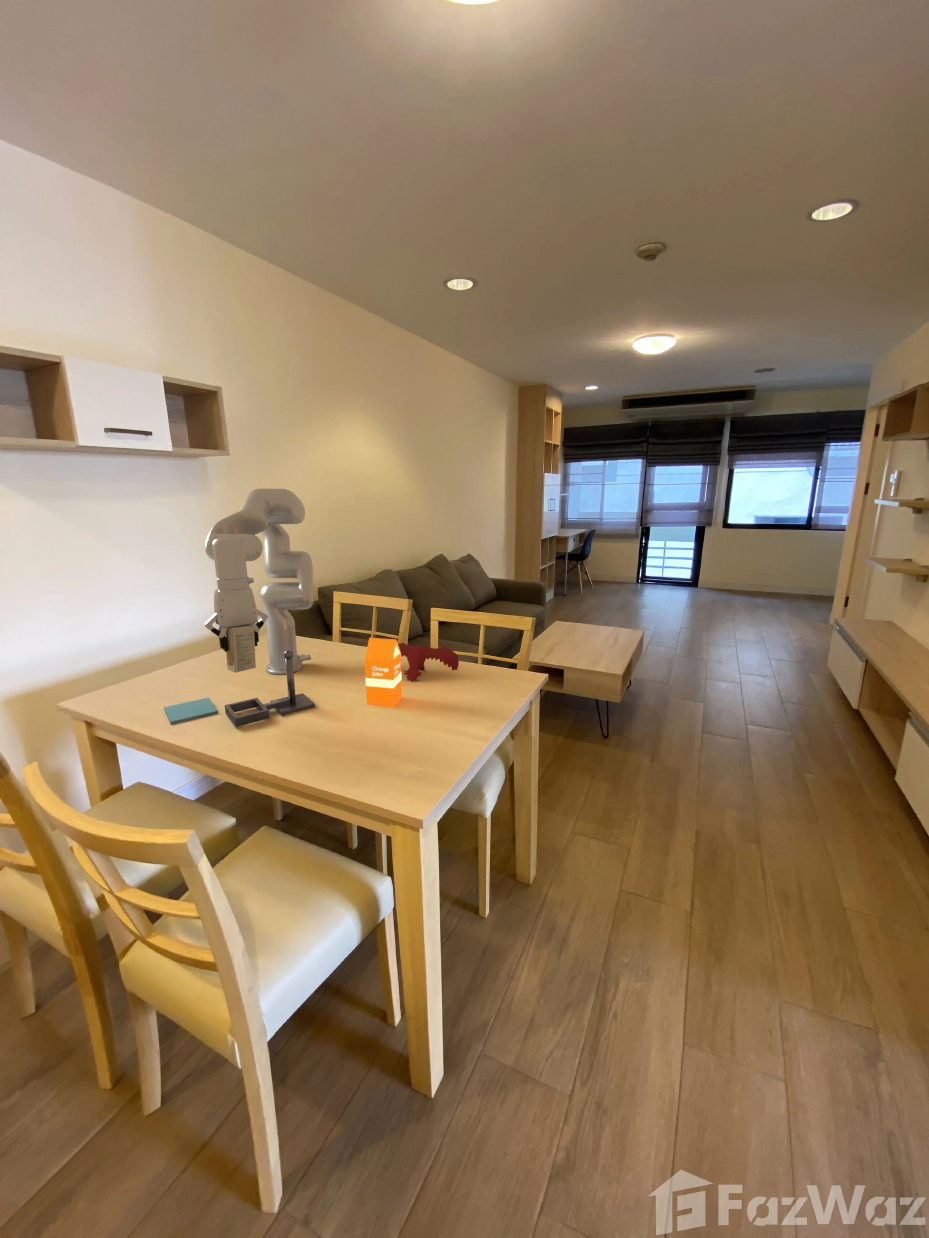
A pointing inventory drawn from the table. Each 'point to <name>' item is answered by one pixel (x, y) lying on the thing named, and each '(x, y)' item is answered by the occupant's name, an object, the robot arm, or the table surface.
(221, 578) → the robot arm
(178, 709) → the teal mat
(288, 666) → the ring stand
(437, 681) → the table surface
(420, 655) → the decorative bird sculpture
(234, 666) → the skincare box
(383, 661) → the orange juice
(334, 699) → the table surface
